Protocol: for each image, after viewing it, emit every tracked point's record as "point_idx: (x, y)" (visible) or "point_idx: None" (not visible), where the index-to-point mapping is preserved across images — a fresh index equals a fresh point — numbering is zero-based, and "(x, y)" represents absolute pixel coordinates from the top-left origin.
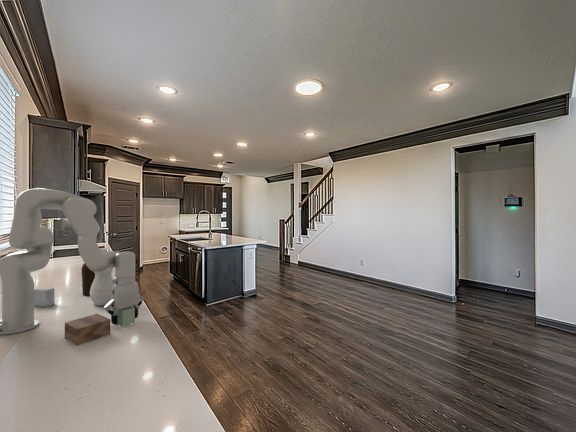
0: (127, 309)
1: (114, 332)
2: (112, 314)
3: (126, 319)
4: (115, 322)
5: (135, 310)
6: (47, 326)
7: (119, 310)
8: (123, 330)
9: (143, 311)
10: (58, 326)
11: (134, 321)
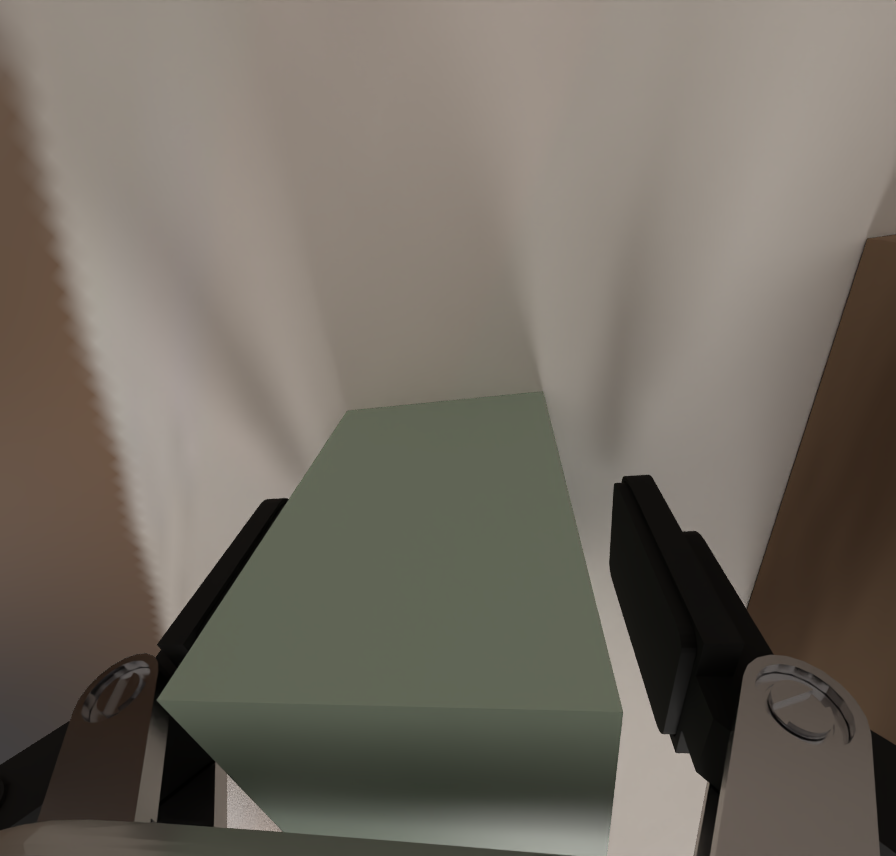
0: (411, 720)
1: (758, 271)
2: (843, 723)
3: (475, 465)
4: (659, 511)
5: None
6: None
7: (607, 793)
8: (606, 233)
9: None
10: None
11: (338, 426)
